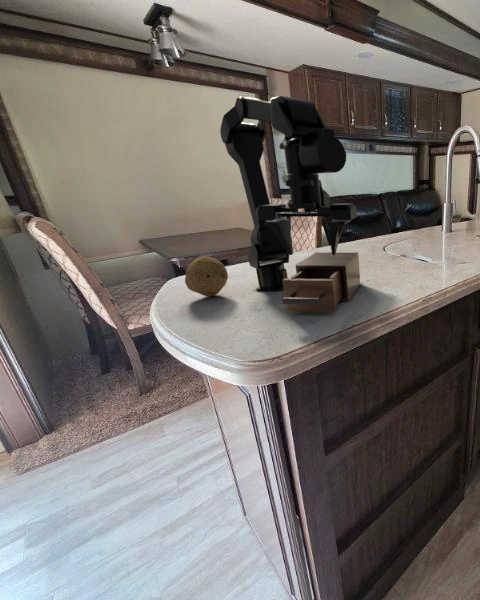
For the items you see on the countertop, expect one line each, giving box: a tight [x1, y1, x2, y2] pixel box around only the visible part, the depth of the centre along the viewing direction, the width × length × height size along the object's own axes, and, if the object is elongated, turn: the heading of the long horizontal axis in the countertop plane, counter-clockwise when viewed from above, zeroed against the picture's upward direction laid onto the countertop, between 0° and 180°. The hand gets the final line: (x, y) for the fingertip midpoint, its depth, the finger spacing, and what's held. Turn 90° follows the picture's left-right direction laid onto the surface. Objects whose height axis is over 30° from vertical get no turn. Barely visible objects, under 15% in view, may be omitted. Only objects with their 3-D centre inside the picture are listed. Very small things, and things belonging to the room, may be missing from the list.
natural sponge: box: [184, 256, 229, 298], centre depth 76 cm, size 9×9×10 cm
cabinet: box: [295, 251, 361, 302], centre depth 79 cm, size 14×12×9 cm
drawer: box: [282, 269, 345, 313], centre depth 68 cm, size 17×10×7 cm, turn 175°
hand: (312, 254), depth 66 cm, fingers open, 9 cm apart
